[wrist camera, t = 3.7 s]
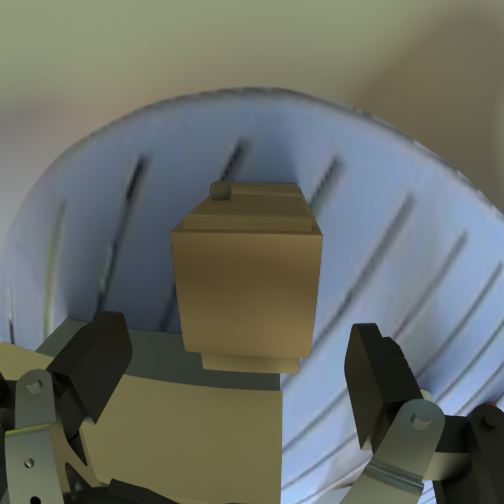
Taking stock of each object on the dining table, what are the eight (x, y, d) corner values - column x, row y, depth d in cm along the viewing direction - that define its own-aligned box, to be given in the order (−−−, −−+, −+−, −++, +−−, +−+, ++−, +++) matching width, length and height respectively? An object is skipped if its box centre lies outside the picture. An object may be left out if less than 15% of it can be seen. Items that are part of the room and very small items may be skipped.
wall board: (276, 395, 30) (264, 608, 8) (85, 370, 32) (-4, 512, 10) (281, 308, 26) (273, 615, 4) (58, 291, 28) (-83, 438, 6)
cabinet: (294, 293, 26) (303, 398, 15) (225, 290, 26) (192, 391, 15) (300, 169, 22) (324, 199, 11) (221, 168, 23) (167, 198, 11)
